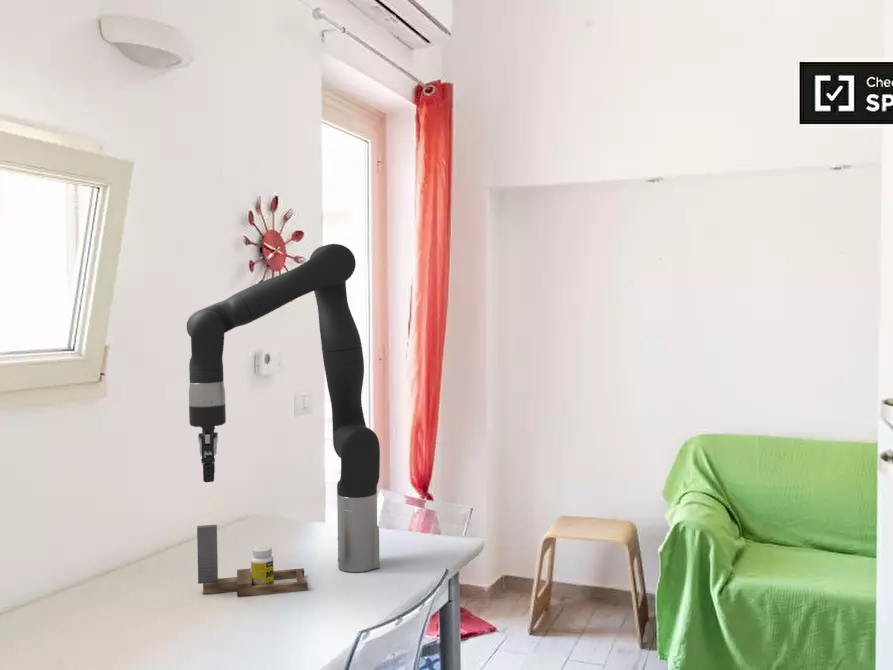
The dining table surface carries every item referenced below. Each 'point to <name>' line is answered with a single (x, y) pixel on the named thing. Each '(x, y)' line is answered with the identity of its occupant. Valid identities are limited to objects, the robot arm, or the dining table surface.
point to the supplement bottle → (262, 566)
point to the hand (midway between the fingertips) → (209, 477)
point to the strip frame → (243, 579)
